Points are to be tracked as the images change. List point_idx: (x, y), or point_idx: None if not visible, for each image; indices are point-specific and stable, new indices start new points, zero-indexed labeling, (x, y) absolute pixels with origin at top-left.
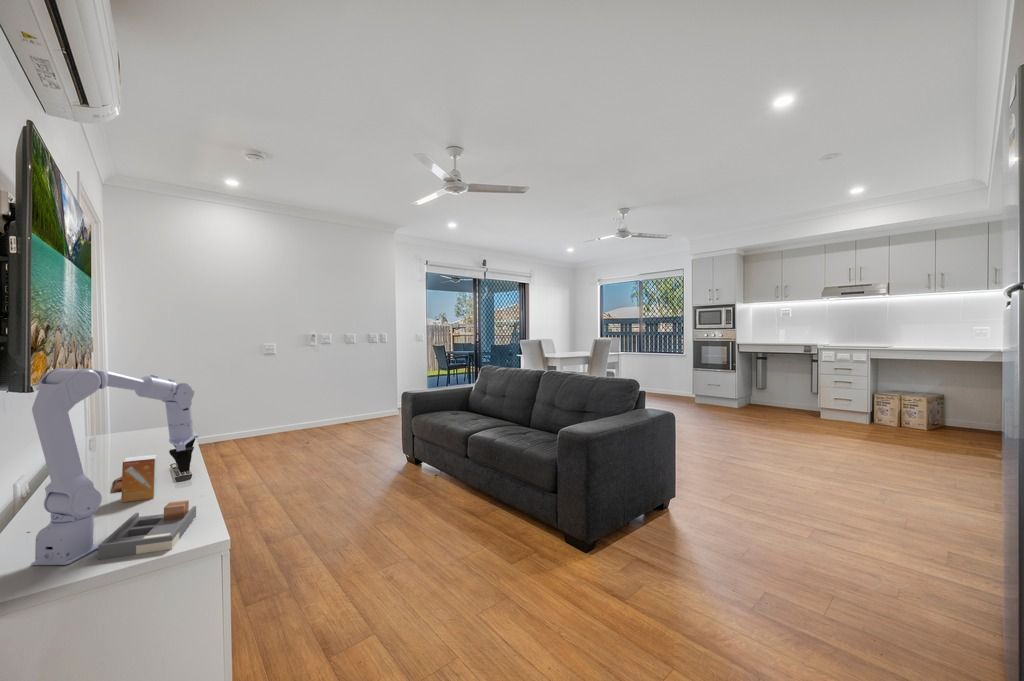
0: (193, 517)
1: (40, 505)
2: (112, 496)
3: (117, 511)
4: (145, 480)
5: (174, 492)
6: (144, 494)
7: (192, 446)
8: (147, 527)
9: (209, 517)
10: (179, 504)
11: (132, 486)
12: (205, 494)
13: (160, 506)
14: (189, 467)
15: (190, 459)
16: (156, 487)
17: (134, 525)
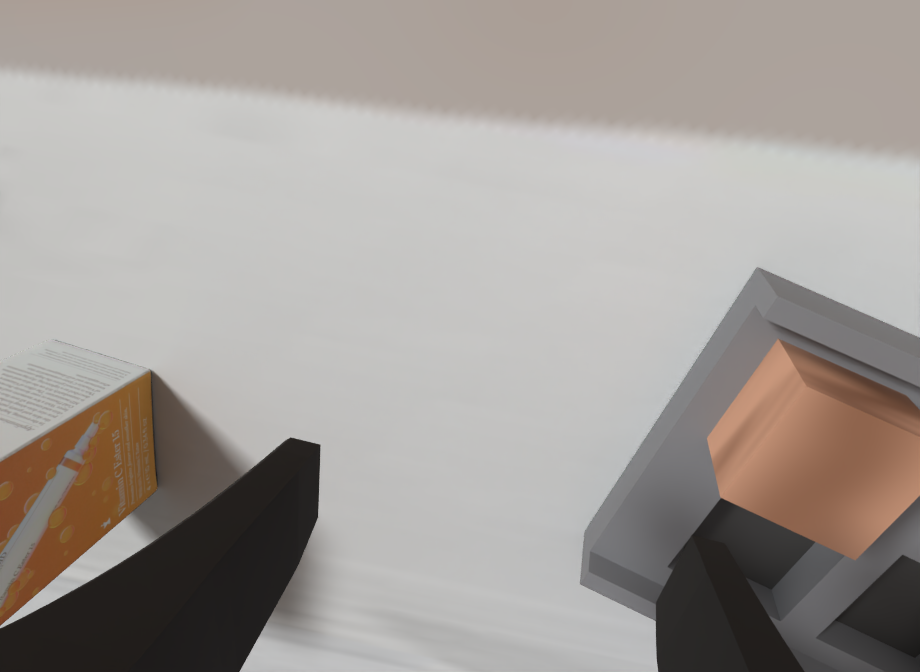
0: (837, 306)
1: None
2: None
3: None
4: (55, 473)
5: (80, 259)
6: (130, 424)
7: (146, 658)
8: (872, 576)
9: (863, 190)
10: (873, 467)
11: (86, 507)
12: (221, 100)
13: (329, 375)
14: (746, 582)
15: (299, 474)
16: (25, 354)
17: None
